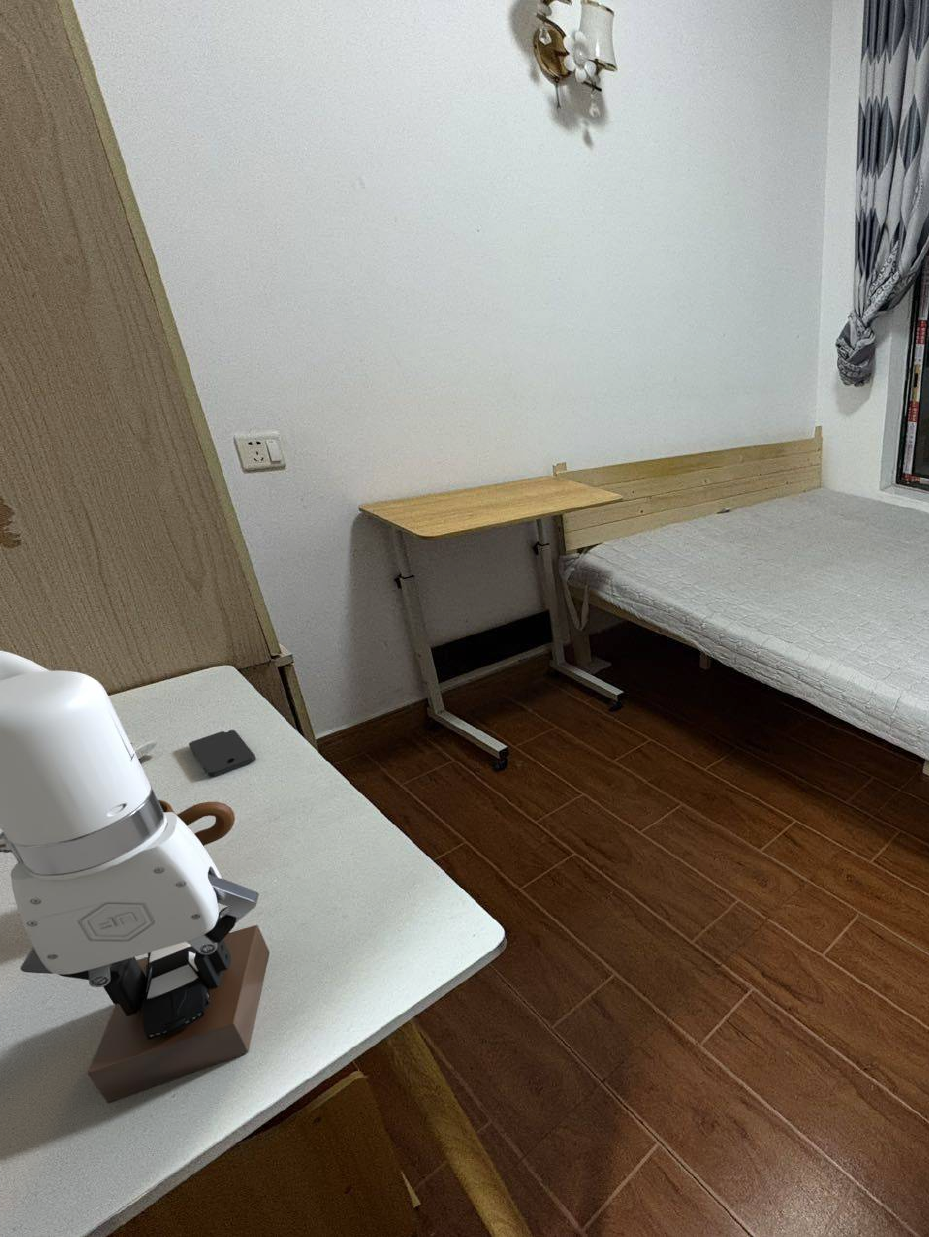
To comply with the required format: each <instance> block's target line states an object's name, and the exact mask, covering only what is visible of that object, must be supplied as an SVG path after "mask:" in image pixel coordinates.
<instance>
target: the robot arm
mask: <svg viewBox="0 0 929 1237" xmlns="http://www.w3.org/2000/svg"><path fill="white" fill-rule="evenodd" d="M158 800H159V799H158V798H157V795H156V793H155V791H154V789H153V787H152V785H151V784H150V781H149V779H148V777H147V775H146V772H145V770H144V769H143V767H142V764H141V762H140V760H139V758H138V756H137V753H136V752H135V749H134V748H133V745H132V743H131V741H130V739H129V737H128V735H127V733H126V731H125V729H124V726H123V725H122V723H121V720H120V718H119V716H118V714H117V712H116V710H115V707H114V706H113V703H112V701H111V699H110V697H109V695H108V693H107V691H106V689H105V688H104V687H103V685H102V684H101V683H100V682H99V681H98V680H97V679H95V678H94V677H92V676H90V675H88V674H85V673H82V672H79V671H72V670H50V669H48V668H46V667H44V666H41V665H39V664H38V663H36V662H34V661H33V660H30V659H28V658H25V657H22V656H20V655H18V654H15V653H12V652H9V651H5V650H0V829H1V831H2V832H0V853H4V854H9V853H11V854H12V855H13V856H14V858H15V860H16V861H17V862H16V864H15V865H14V866H13V868H12V869H11V871H10V881H11V888H12V892H13V896H14V900H15V904H16V907H17V910H18V913H19V916H20V920H21V923H22V925H23V928H24V930H25V932H26V934H27V937H28V940H29V941H30V943H31V945H32V947H31V948H30V950H29V952H28V954H27V955H26V957H25V959H24V961H23V962H22V964H21V966H20V968H19V969H20V971H21V972H23V973H30V974H49V975H53V974H55V975H58V976H60V977H64V978H69V979H71V978H72V979H80V980H83V981H84V980H85V981H88V983H89V986H91V987H93V988H103V989H104V990H105V993H106V994H107V996H108V997H109V999H110V1000H111V1002H112V1004H113V1005H114V1006H115V1005H116V1004H119V1005H120V1006H121V1008H122V1010H123V1011H124V1013H125V1014H126V1016H130V1015H134V1014H136V1013H137V1012H138V1011H140V1009H141V1006H142V1004H143V1001H144V998H145V997H140V995H142V994H144V993H145V992H146V976H145V974H144V972H143V971H142V969H141V967H140V965H139V963H138V962H137V960H138V959H137V958H136V957H138V956H139V957H140V956H142V955H146V954H148V953H149V952H152V951H156V950H159V949H163V948H166V947H169V946H173V945H176V944H179V943H183V942H187V943H188V944H190V945H191V946H192V947H193V948H194V949H195V950H196V954H195V958H194V963H195V965H196V967H197V969H198V971H199V973H200V975H201V977H202V979H203V981H204V983H205V985H206V987H207V988H208V989H209V988H210V989H214V988H218V987H220V983H221V980H222V976H223V972H224V970H227V969H229V967H230V964H231V955H230V953H229V951H228V948H227V946H226V944H225V942H224V940H223V938H224V937H225V936H226V935H227V934H228V933H230V932H232V930H233V928H234V927H235V926H236V923H238V922H239V921H240V920H242V919H243V918H244V917H246V916H247V915H248V914H249V913H250V912H251V911H253V910H254V909H255V908H256V907H257V903H258V899H259V894H260V893H259V892H257V891H255V890H253V889H251V888H248V887H244V886H242V885H239V884H238V883H234V882H231V881H228V880H226V879H223V877H222V875H221V873H220V871H219V869H218V868H217V866H216V864H215V862H214V860H213V858H212V857H211V856H210V854H209V853H208V851H207V849H206V848H205V847H204V846H203V845H202V844H201V842H200V841H199V840H198V838H197V837H196V836H195V835H194V831H192V830H191V828H190V827H189V825H188V826H187V825H186V824H185V823H184V822H183V821H182V820H181V819H180V818H179V817H178V816H176V815H175V814H176V813H175V814H174V813H173V812H166V813H164V812H163V810H162V808H161V806H160V804H159V802H158ZM219 904H220V905H223V906H225V907H223V908H222V909H221V910H220V909H219Z"/></svg>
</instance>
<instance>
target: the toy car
mask: <svg viewBox="0 0 929 1237" xmlns="http://www.w3.org/2000/svg"><path fill="white" fill-rule="evenodd" d="M195 954H196V950H195V949H194V948H193V947H192V946H191V945H190V944H188V943H187V942H183V943H179V944H176V945H173V946H169V947H166V948H163V949H159V950H156V951H152V952H149V953H147V957H148V964H147V965H146V976H147V977H146V992H145V993H144V994H142V995H140V997H145V1002H144V1007H143V1013H142V1023H143V1027H144V1032H145V1035H146V1036H147V1038H148V1040H152V1039H155V1038H158V1037H161V1036H164V1035H167V1034H171V1033H174V1032H177V1031H179V1030H181V1029H182V1028H184V1027H186V1026H187V1025H189V1024H191V1023H193V1022H194V1021H196V1020H198V1019H200V1018H201V1017H203V1016H204V1015H205V1011H206V1005H207V1004H209V1003H210V1002H211V999H210V994H209V991H208V989H207V987H206V985H205V983H204V981H203V979H202V977H201V975H200V973H199V971H198V969H197V967H196V965H195V963H194V958H195Z"/></svg>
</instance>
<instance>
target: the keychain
mask: <svg viewBox="0 0 929 1237" xmlns="http://www.w3.org/2000/svg"><path fill="white" fill-rule="evenodd" d="M188 746H189V748H190V751H191V752H192V753H193V755H194V756H195V757H196V759H197V760H198V762H199V763H200V764H201V766H202V767H203V769H204V771H205V772H206V773H207V775H208V776H209V777H211V778H212V777H217V776H219V775H223V774H225V773H228V772H231V771H234V770H236V769H238V768H241V767H243V766H246V765H249V764H251V763H253V762H256V761H257V757H256V755H255V753H254V752H253V751H252V750H251V749H250V747H249V746H248V744H246V742H245V741H244V740H243V738H242V737H241V736H240V734H238V732H237V731H236V730H235V729H229V730H227V731H224V730H222V731H218V732H216V733H212V734H210V735H207V736H204V737H201V738H198V739H195V740H192V741H190V742H189V743H188Z"/></svg>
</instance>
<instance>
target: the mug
mask: <svg viewBox="0 0 929 1237" xmlns="http://www.w3.org/2000/svg"><path fill="white" fill-rule="evenodd" d="M158 802H159V804H160V806H161V808H162V810H163V812H164V813H166V812H173V813H174V814H175V815H176V816H178V817H179V818H180V819H181V820H182V821H183V822H184V823H185V824H186V825H187V826H188V827H189V826H190V825H191V824H194V823H195V822H197V821H198V820H200V819H202V818H205V817H214V818H215V822H214V824H212V825H211V826H210V827H206V828H204V829H201V830H198V831H196V832H195V833H194V832H193V833H194V835H195V836H196V837H197V838H198V840H199V841H200V842H201V844H202V845H203V847H204V846H207V845H209V844H212V843H215V842H216V841H219V840H220V839H222V838H223V837H225V836H226V835H227V834H228V833H229V832H230V831H231V829H232V828H233V826H234V825H235V820H236V817H235V812H234V810H233V809H232V807H230V806H229V805H228V804H226V803H223V802H220V801H204V802H200V803H196V804H193V805H192V806H189V807H188V808H186V809H185V810H182V811H180V812H179V813H177V814H176V813H175V811H174V809H173V808H172V806H171V804H170V803H169V802H167V801H165V800H162V799H158Z"/></svg>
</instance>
